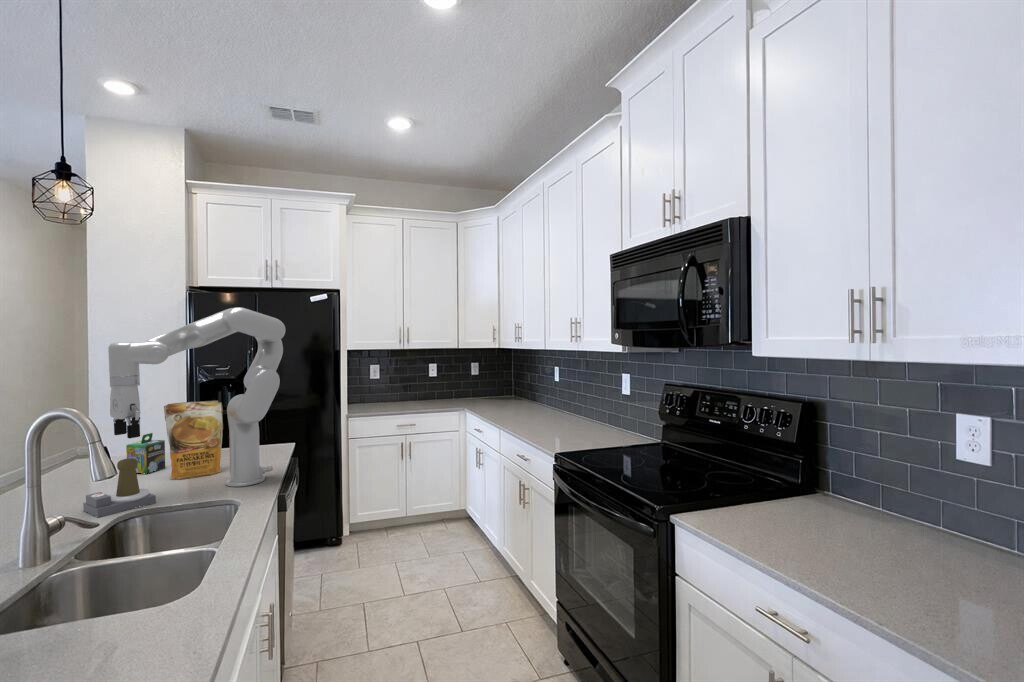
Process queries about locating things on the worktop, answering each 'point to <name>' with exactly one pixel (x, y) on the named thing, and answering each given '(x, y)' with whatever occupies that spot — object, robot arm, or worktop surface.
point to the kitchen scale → (116, 502)
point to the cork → (127, 478)
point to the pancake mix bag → (194, 438)
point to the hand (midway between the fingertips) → (127, 436)
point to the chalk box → (147, 454)
